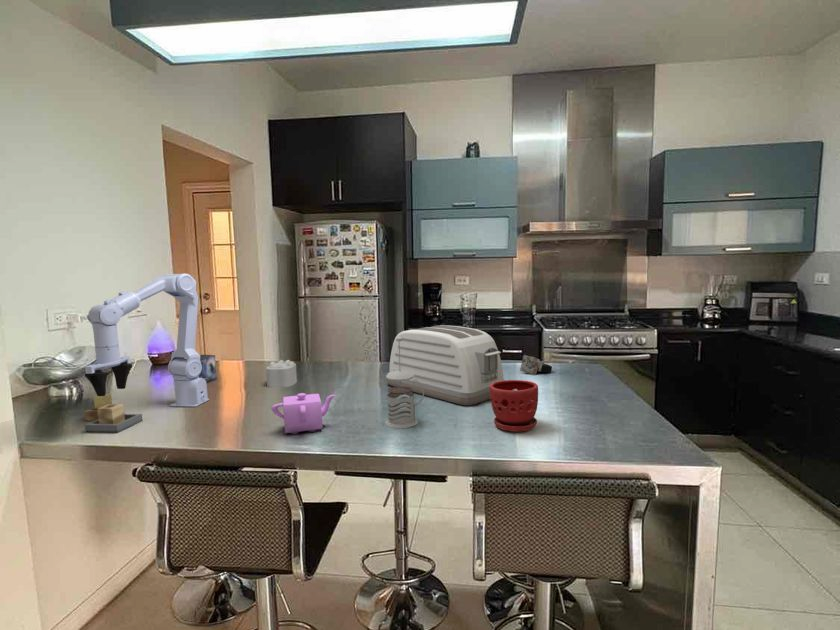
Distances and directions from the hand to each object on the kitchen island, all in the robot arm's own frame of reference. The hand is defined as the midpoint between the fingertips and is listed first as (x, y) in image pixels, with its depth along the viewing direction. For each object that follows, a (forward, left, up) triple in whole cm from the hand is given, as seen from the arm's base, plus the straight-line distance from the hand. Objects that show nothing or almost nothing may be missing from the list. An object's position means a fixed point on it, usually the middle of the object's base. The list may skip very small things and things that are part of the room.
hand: (111, 392), depth 136 cm
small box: (+4, -51, -11) cm, 52 cm away
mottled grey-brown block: (-131, -70, -11) cm, 149 cm away
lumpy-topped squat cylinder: (-30, -51, -11) cm, 60 cm away
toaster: (-95, -43, -11) cm, 105 cm away
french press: (-85, -8, -11) cm, 86 cm away
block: (+1, 0, -10) cm, 10 cm away
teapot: (-58, -1, -11) cm, 59 cm away
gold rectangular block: (+10, -8, -10) cm, 17 cm away
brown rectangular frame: (+10, -8, -10) cm, 16 cm away
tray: (0, 0, -10) cm, 10 cm away
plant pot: (-116, -6, -11) cm, 117 cm away
